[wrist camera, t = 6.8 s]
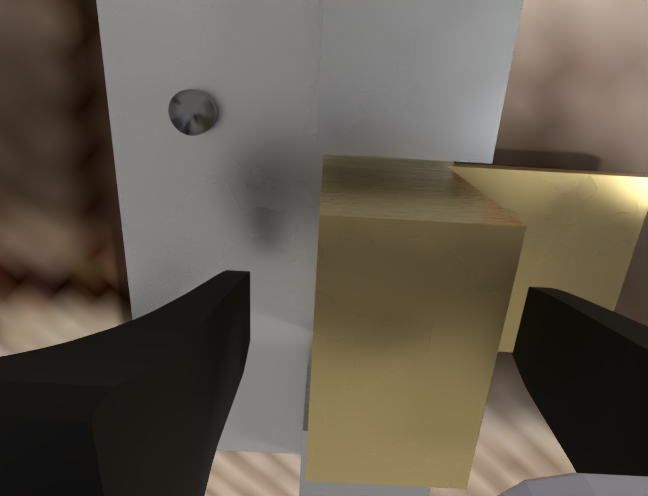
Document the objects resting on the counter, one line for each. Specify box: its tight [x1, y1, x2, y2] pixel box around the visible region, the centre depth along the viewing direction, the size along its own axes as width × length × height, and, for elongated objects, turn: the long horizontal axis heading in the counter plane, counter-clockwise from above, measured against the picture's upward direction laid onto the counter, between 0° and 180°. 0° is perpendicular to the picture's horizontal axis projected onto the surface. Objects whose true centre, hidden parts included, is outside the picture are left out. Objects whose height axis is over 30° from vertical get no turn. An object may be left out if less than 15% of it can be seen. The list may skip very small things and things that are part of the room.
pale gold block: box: [305, 156, 648, 489], centre depth 11 cm, size 10×6×6 cm, turn 87°
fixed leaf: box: [96, 0, 523, 496], centre depth 13 cm, size 10×16×4 cm, turn 177°
